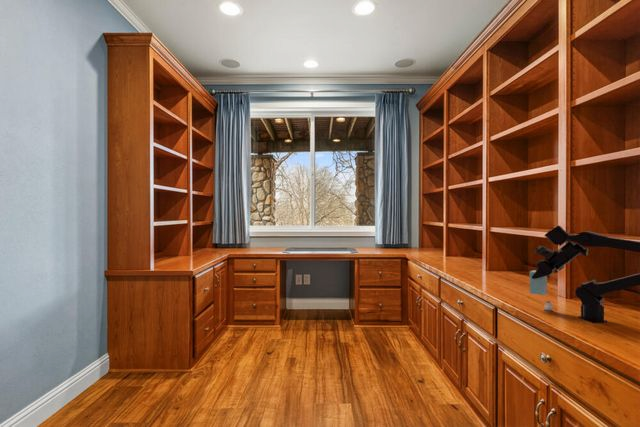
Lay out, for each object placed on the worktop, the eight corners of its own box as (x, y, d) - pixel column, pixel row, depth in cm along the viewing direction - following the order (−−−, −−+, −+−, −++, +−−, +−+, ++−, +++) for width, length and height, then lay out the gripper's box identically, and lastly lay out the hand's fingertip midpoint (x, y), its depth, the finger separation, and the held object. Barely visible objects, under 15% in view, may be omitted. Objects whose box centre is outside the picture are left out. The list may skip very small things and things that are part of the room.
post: (554, 311, 136) (554, 302, 136) (548, 312, 135) (548, 302, 135) (548, 309, 139) (548, 300, 139) (542, 309, 138) (542, 300, 138)
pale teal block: (546, 293, 139) (546, 271, 139) (543, 295, 136) (543, 273, 136) (533, 291, 143) (533, 270, 143) (529, 293, 140) (529, 271, 140)
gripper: (555, 238, 143) (527, 260, 151) (541, 241, 130) (511, 265, 139) (577, 258, 137) (547, 280, 145) (565, 262, 125) (533, 286, 133)
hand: (534, 277), depth 141 cm, fingers closed on pale teal block, 5 cm apart
